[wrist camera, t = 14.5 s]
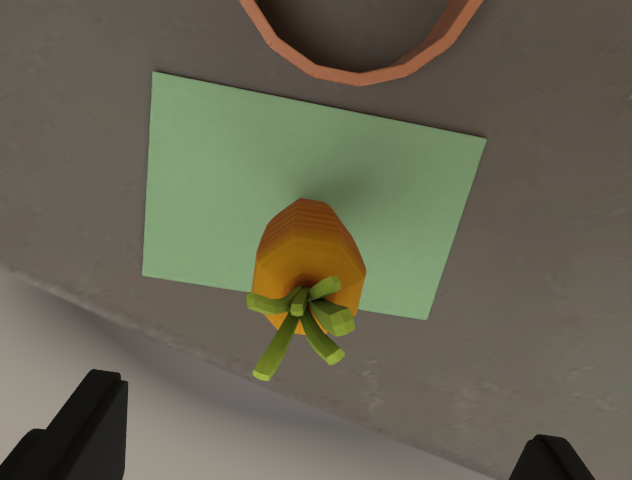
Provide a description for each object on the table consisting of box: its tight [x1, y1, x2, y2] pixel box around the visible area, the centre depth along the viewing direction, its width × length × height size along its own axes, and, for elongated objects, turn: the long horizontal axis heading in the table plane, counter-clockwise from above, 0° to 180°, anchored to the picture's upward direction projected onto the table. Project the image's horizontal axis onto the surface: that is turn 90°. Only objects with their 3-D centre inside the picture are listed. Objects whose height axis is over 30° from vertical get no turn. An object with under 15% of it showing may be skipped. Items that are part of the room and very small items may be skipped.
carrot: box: [246, 198, 366, 381], centre depth 20 cm, size 5×5×15 cm
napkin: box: [142, 71, 487, 320], centre depth 27 cm, size 20×13×1 cm, turn 79°
